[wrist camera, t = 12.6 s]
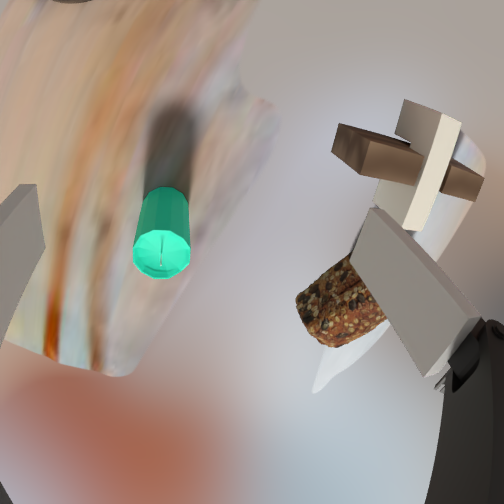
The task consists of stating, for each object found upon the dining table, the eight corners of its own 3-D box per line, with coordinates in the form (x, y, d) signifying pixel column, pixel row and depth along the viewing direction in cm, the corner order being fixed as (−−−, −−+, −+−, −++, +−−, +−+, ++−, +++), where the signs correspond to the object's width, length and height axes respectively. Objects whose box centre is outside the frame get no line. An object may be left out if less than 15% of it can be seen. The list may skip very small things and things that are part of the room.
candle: (148, 232, 41) (140, 293, 31) (137, 191, 38) (122, 245, 28) (192, 223, 42) (197, 283, 32) (184, 182, 38) (185, 233, 29)
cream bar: (404, 99, 36) (442, 113, 30) (424, 107, 37) (462, 122, 31) (372, 201, 45) (400, 229, 38) (392, 204, 46) (421, 231, 40)
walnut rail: (338, 123, 37) (370, 140, 31) (451, 157, 43) (484, 178, 36) (331, 151, 39) (359, 174, 33) (443, 179, 45) (474, 202, 39)
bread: (378, 224, 48) (412, 261, 40) (400, 260, 54) (430, 296, 46) (288, 295, 53) (307, 341, 45) (320, 321, 58) (339, 363, 50)
